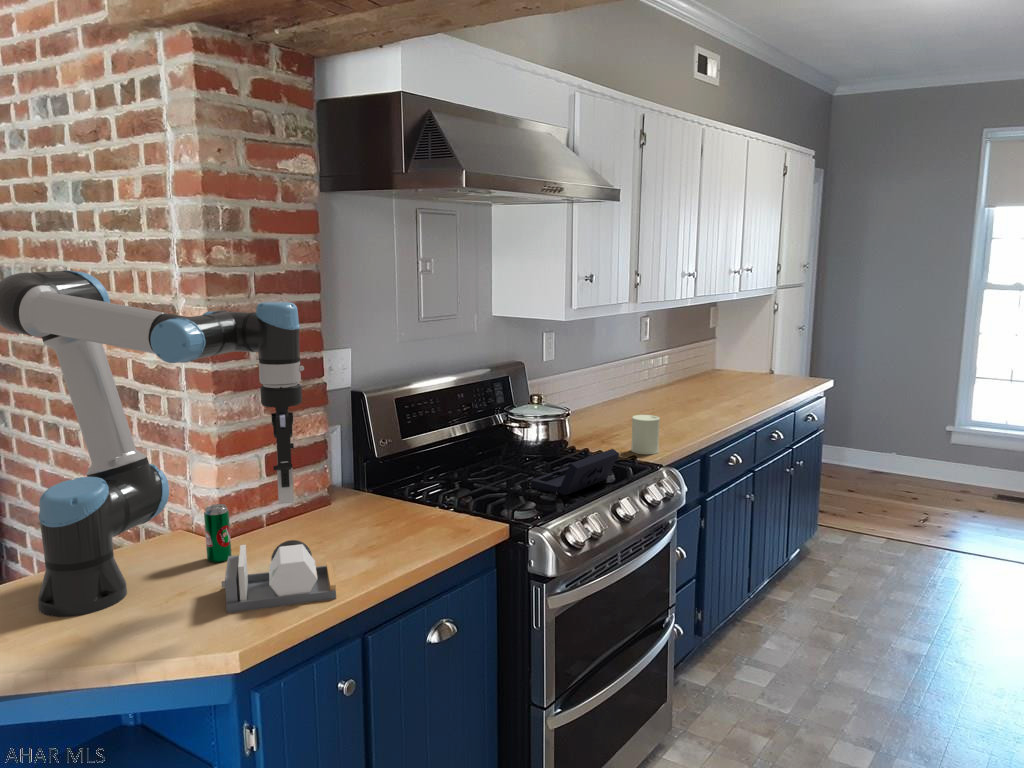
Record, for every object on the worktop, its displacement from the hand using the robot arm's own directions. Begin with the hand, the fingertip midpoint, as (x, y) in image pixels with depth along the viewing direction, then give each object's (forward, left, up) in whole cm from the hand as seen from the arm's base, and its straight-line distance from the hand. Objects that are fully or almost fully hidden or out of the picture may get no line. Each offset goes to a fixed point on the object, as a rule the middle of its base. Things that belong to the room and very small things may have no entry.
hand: (285, 492), depth 153 cm
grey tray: (-2, 0, -21) cm, 21 cm away
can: (+116, +80, -21) cm, 143 cm away
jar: (+1, -6, -16) cm, 17 cm away
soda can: (-15, +22, -21) cm, 34 cm away
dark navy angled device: (+80, +51, -21) cm, 97 cm away
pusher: (-9, 0, -21) cm, 23 cm away
